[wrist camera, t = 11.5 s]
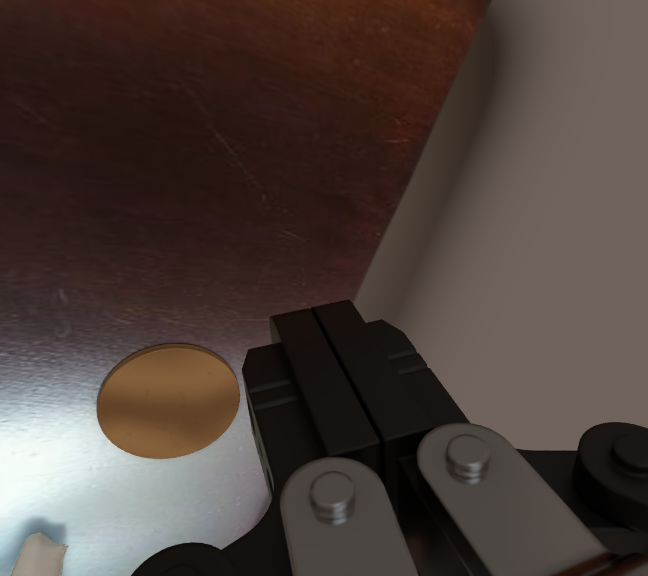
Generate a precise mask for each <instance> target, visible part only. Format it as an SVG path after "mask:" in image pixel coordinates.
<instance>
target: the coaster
mask: <svg viewBox="0 0 648 576" xmlns="http://www.w3.org/2000/svg"><path fill="white" fill-rule="evenodd" d="M239 402H240V391H239V386H238V382H237V379H236V376H235V374H234V372H233V370H232V369H231V367H230V366H229V365H228V364H227V363H226V362H225V361H224V360H223V359H222V358H221V357H219V356H218V355H217V354H215V353H213V352H211V351H209V350H207V349H204V348H202V347H198V346H194V345H188V344H164V345H158V346H154V347H150V348H147V349H144V350H142V351H139V352H137V353H135V354H133V355H131V356H129V357H128V358H126V359H125V360H123V361H122V362H120V363H119V364H118V365H117V366H116V367H115V368H114V369H113V370H112V371H111V372H110V373H109V375H108V376H107V377H106V379H105V380H104V382H103V384H102V386H101V388H100V391H99V394H98V399H97V418H98V422H99V425H100V427H101V429H102V431H103V433H104V434H105V435H106V437H107V438H108V439H109V440H110V441H111V442H112V443H113V444H114V445H116V446H117V447H118V448H120V449H122V450H124V451H125V452H128V453H130V454H133V455H136V456H140V457H145V458H153V459H167V458H175V457H180V456H184V455H187V454H190V453H193V452H196V451H198V450H200V449H202V448H204V447H206V446H208V445H209V444H211V443H212V442H214V441H215V440H216V439H217V438H219V437H220V436H221V435H222V434H223V433H224V432H225V431H226V430H227V429H228V427H229V426H230V424H231V423H232V421H233V419H234V418H235V416H236V413H237V410H238V407H239Z"/></svg>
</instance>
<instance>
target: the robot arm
mask: <svg viewBox="0 0 648 576" xmlns="http://www.w3.org/2000/svg"><path fill="white" fill-rule="evenodd" d="M270 331H271V338H272V344H270V345H266V346H261V347H257V348H252V349H248V352H247V355H246V358H245V361H244V364H243V367H242V374H243V380H244V386H245V392H246V398H247V404H248V410H249V416H250V421H251V427H252V433H253V437H254V440H255V444H256V448H257V452H258V454H259V459H260V463H261V466H262V470H263V473H264V477H265V481H266V485H267V488H268V492H269V496H270V499H271V504H270V506H269V508H268V510H267V512H266V514H265V515H264V517H263V518H262V519H261V520H260V522H259V523H258V524H257V525H256V526H255V527H254V528H253V529H252V530H251V531H249V532H248V533H246V534H245V535H244V536H242V537H241V538H239V539H238V540H236V541H235V542H233V543H231V544H230V545H228V546H227V547H225V548H224V549H222V550H220V549H219V548H216V547H214V546H212V545H208V544H204V543H193V542H192V543H182V544H178V545H174V546H171V547H168V548H166V549H163V550H161V551H160V552H158V553H156V554H154V555H153V556H151V557H150V558H148V559H147V560H146V561H144V562H143V563H142V564H141V565H140V566H139V567H138V568H137V569H136V570H135V571H134V573H133V574H132V575H131V576H648V428H645V427H641V426H638V425H634V424H629V423H621V422H610V423H603V424H599V425H596V426H593V427H592V428H590V429H588V430H587V431H586V432H585V433H584V434H583V435H582V437H581V439H580V442H579V446H578V450H577V451H532V450H521V449H515V448H514V447H513V446H512V445H511V444H510V443H509V442H508V441H507V440H506V439H505V438H504V437H503V436H501V435H500V434H498V433H497V432H495V431H493V430H491V429H489V428H486V427H484V426H480V425H476V424H471V423H470V422H469V420H468V419H467V418H466V417H465V415H464V414H463V412H462V411H461V410H460V408H459V407H458V406H457V404H456V403H455V402H454V400H453V399H452V397H451V396H450V395H449V393H448V392H447V391H446V389H445V388H444V387H443V385H442V384H441V383H440V381H439V380H438V379H437V377H436V376H435V375H434V373H433V372H432V370H431V369H430V368H428V367H427V364H426V362H425V361H424V360H423V358H422V357H421V355H420V354H419V353H417V352H416V349H415V347H414V346H413V345H412V343H411V342H410V341H409V339H408V338H407V337H406V335H405V334H404V333H403V332H402V331H400V330H398V329H397V328H395V327H394V326H392V325H390V324H389V323H387V322H385V321H384V320H378V321H373V322H368V323H365V321H364V320H363V318H362V317H361V315H360V314H359V312H358V311H357V309H356V308H355V306H354V305H353V303H352V302H351V301H350V300H344V301H339V302H335V303H330V304H325V305H321V306H316V307H311V308H310V309H309V308H307V309H303V310H298V311H293V312H288V313H284V314H279V315H274V316H270Z"/></svg>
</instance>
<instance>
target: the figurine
mask: <svg viewBox="0 0 648 576" xmlns="http://www.w3.org/2000/svg"><path fill="white" fill-rule="evenodd" d="M67 548H68V546H66V545H65V544H56V543H55V542H54V541H52V540H51V539H50V538H49V537H48V536H47V535H45V534H43V533H40V532H38V533H35V534H33V535H31V536H29V537H28V538H27V540H26V541H25V543H24V545H23V547H22V549H21V551H20V553H19V555H18V558H17V560H16V562H15V565H14V567H13V570H12V572H11V574H10V576H62V567H63V561H62V560H63V556H64V554H65V552H66V550H67Z"/></svg>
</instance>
